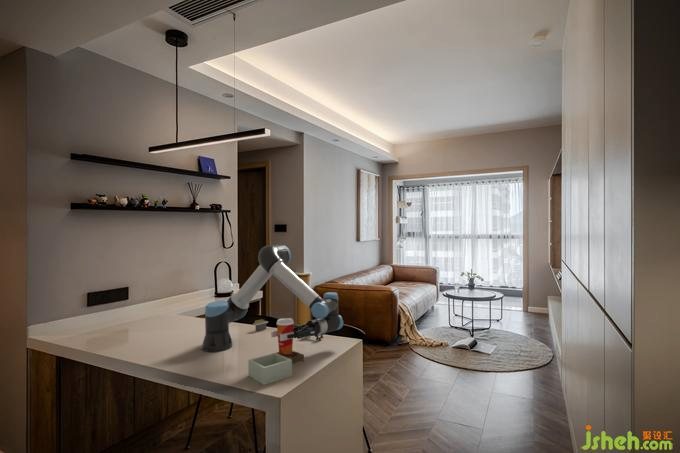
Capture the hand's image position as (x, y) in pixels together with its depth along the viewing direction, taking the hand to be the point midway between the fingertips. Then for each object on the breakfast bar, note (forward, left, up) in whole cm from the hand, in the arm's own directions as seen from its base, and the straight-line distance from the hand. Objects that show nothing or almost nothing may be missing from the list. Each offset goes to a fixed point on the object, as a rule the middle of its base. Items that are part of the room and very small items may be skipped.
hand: (276, 336), depth 164 cm
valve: (-21, +36, -13) cm, 43 cm away
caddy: (+10, -9, -13) cm, 18 cm away
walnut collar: (0, +5, -13) cm, 13 cm away
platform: (-59, +24, -13) cm, 65 cm away
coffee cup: (0, +5, -9) cm, 10 cm away
